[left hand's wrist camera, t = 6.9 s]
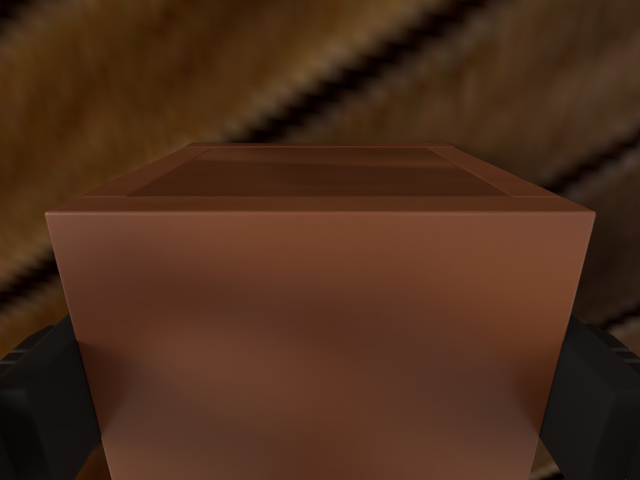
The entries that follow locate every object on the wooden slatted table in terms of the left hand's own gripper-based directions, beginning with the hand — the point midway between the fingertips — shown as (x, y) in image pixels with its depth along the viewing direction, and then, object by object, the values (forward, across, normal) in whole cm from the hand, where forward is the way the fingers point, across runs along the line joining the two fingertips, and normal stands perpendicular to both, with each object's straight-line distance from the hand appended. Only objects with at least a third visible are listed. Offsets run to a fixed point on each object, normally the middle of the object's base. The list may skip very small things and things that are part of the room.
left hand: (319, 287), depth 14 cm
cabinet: (+5, 0, -5) cm, 7 cm away
